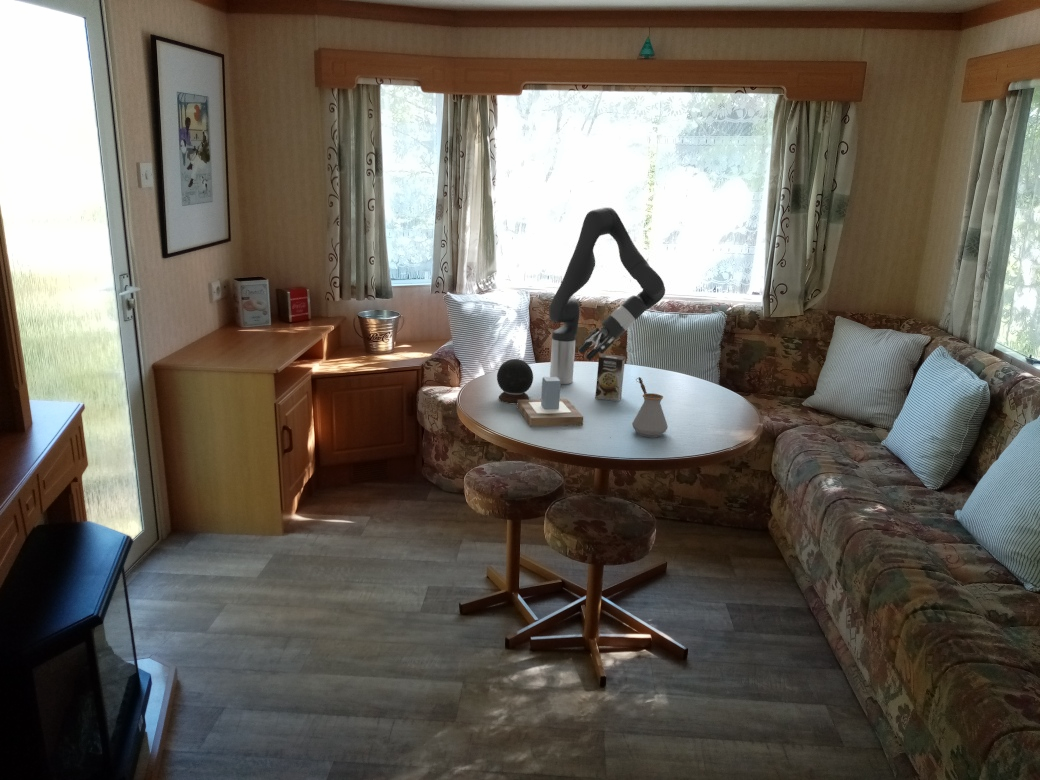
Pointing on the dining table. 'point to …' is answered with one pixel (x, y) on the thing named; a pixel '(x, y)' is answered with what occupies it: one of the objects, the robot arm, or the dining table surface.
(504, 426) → the dining table surface
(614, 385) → the coffee box
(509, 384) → the black ball on pedestal
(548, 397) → the slate block
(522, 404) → the wooden board
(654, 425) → the coffee pot
